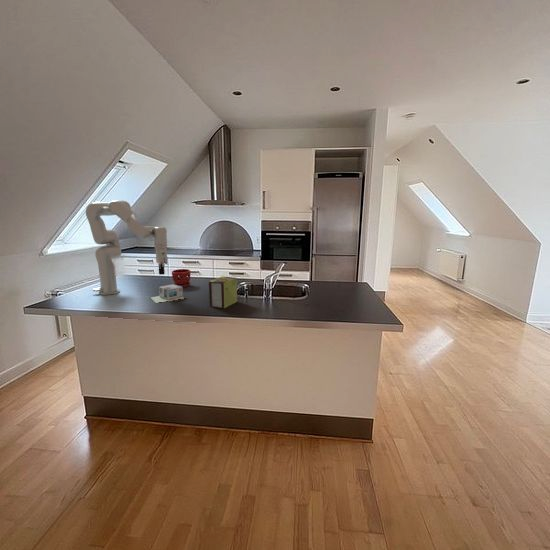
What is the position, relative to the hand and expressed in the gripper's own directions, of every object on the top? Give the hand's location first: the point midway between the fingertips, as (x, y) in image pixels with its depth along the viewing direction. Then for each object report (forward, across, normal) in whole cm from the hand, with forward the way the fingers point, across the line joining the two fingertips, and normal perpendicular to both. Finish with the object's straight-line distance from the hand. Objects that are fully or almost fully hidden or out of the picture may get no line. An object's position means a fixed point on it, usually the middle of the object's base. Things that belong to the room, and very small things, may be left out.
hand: (161, 274), depth 192 cm
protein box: (+13, -39, -26) cm, 49 cm away
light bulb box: (+11, -2, -2) cm, 11 cm away
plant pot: (+15, +18, -19) cm, 30 cm away
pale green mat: (+14, -9, -1) cm, 17 cm away
